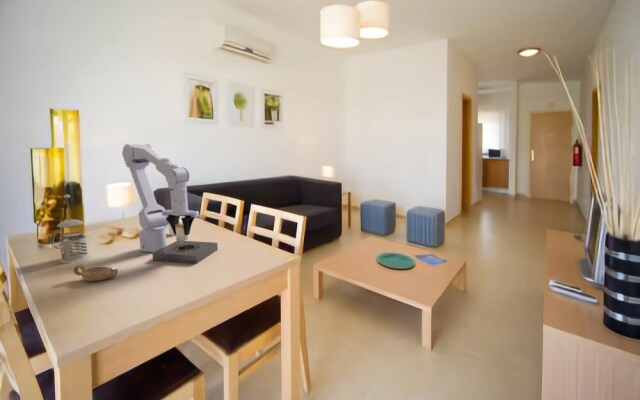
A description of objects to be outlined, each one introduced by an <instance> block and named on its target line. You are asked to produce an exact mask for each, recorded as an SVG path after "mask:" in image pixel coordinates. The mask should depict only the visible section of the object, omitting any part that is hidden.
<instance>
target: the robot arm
mask: <svg viewBox="0 0 640 400" xmlns="http://www.w3.org/2000/svg"><path fill="white" fill-rule="evenodd" d="M122 147H123V148H122V152H121V153H122V158H123V160H124V163H125V165H126V167H127V168H129V171H130V174H131V177H132V179H133V182H134V183H133V184H135V189H136V190H137V194H138V197H139V200H140V202H141V205H142V209H141V210H140V211H139V213H138V219H139V225H140V227H141V230H140V232H139V235H138V236H139V246H140V249H139V250H138V251H139V252H143V253H144V252H146V253H147V252H149V253H153V252H155V251H157V250H159V249H162V248H164V247H166V246H168V245H169V244H167V233H166V228H168V223H169V224H170V226H171V227H172V230H173V233H174V235H176V228H175V225H176V224H179V219H181V220H182V222H183V226H184V234H185V235H187V236H188V235H190V233H191V228H192V225H193V222H194V219H195V218H198V217H200V212H199V211H198V210H191V209H189V203H188V190H187V189H188V187H187V182H189V179H190V174H189V170H188V169H187V168H186V167H184V166H182V167H180V166H178V165H177V164H175V163H173V162H172V161H171V160H170V158H168V157H167V158H166V157H161V156H160V155H159V154H158V153H157V152H156V151H155V148H154V146H152V145H150V144H148V143H147V144H129V143H126V144H124V146H122ZM150 163H151V164H153V165H154V166H155V169H156V171H158V172H159V173H160V174H162V175H163V176H164V177H165V180H166V182H167V187H168V188H169V190H170V191H169V192H170V204H171V205H170V206H171V209H165V207H164V206H163V205H160V204H158V203H157V200H156V197H155V193H154V192H153V189H152V185H151V183H150V181H149V177H148V175H147V173H146V167H148V166H149V165H150Z"/></svg>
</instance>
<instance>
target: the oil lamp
mask: <svg viewBox="0 0 640 400" xmlns="http://www.w3.org/2000/svg"><path fill="white" fill-rule="evenodd" d="M78 268H79V269H80V270H81V272H80V271H79V269H78ZM118 273H119V270H118V268H115V269H113V268H112V267H108V266H94V267H89V268H86V267H85V266H84V265H83V264H77V265H75V266H74V267H73V274H75V275H76V276H79V277H80V276H81V278H82V279H83V280H84V281H86V282H98V281H104V280H109V279H111V278H114V277H116V276H117V275H118Z"/></svg>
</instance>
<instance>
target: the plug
mask: <svg viewBox="0 0 640 400" xmlns="http://www.w3.org/2000/svg"><path fill="white" fill-rule="evenodd" d="M175 228H176V236H175V237H176V241H188V235H185V234H184V226H183V223H179V224H176V225H175Z"/></svg>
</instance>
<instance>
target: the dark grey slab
mask: <svg viewBox="0 0 640 400" xmlns="http://www.w3.org/2000/svg"><path fill="white" fill-rule="evenodd" d="M167 245H168V246H166V247H164V248H162V249H159V250H157V251H155V252H151V254H152V261H153V262H168V263H169V262H170V263H180V264H181V263H182V264H196V265H197V264H199V263H200V262H202V261H203V260H204V259H206V258H208V257H210V256H211V255H212V254H214V253H215V252H217V251H218V250H219V249H218V242H212V241H195V240H194V241H193V240H185V241H177V240H176V241H174V242H172V243H169V244H167Z"/></svg>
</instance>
